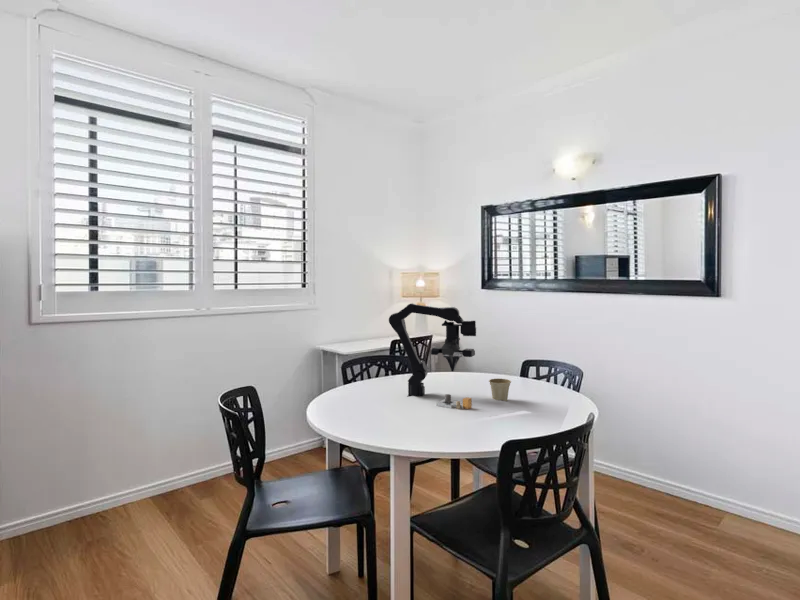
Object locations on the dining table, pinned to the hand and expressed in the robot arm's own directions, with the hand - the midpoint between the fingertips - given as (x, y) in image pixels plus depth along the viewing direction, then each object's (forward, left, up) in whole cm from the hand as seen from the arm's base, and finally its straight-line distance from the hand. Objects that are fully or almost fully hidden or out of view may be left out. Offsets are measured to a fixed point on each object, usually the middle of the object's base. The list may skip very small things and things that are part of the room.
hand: (452, 371), depth 212 cm
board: (+3, -15, -12) cm, 20 cm away
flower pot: (+20, +4, -12) cm, 24 cm away
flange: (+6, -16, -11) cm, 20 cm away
